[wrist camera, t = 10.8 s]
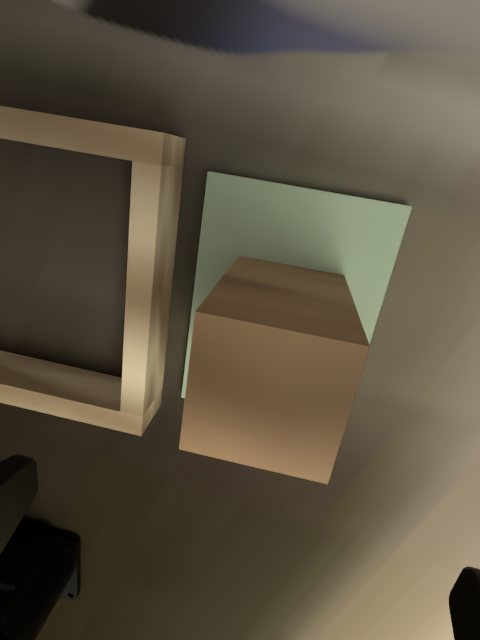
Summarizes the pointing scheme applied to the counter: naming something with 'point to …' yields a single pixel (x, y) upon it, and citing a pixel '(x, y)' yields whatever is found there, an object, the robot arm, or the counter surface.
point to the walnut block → (274, 369)
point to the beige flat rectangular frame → (141, 287)
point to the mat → (298, 237)
